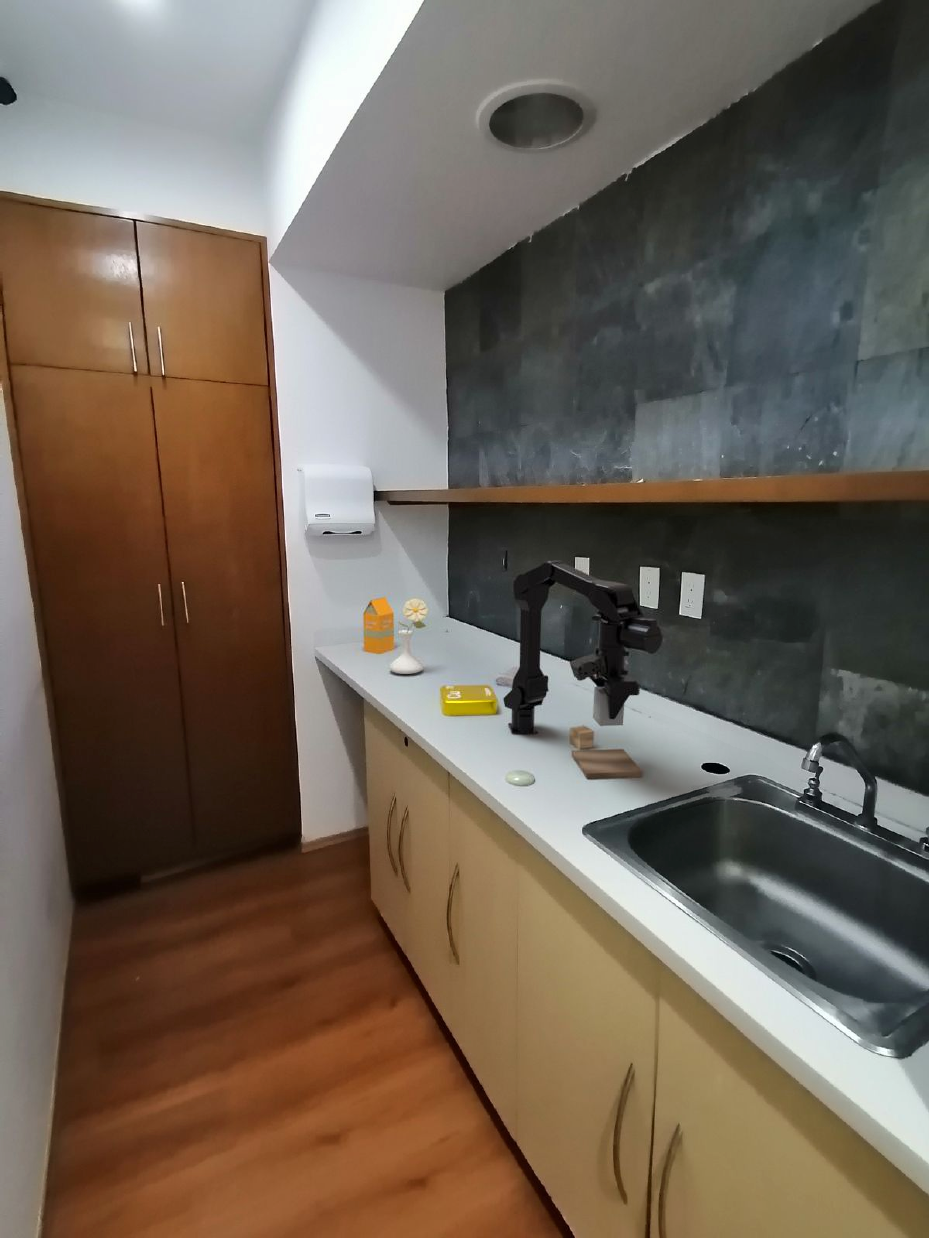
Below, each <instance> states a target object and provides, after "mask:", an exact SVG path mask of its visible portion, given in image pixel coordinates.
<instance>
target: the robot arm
mask: <svg viewBox="0 0 929 1238" xmlns="http://www.w3.org/2000/svg"><path fill="white" fill-rule="evenodd" d="M556 584H560V585H561V586H563V587H565V588H567V589H570V590H572V591H574V592H576V594H577V593H578V594H580V595H582V596H583V597H586V599H588V601H589V603H590V604H591V605H592V606H593V608H595V609H596V610H597V613H595V614H594V615H593V616H591V618H590V619H591V621H595V622H599V626H598V643H597V644H598V645H595V646H594V648H593V653H591V654H588V655H584V656H581V657H579V658H576V659H573V660H571V661H570V662H569V664H570V665H569V666H570V668H571V671H572V674H573V676H574V678H576V679H577V681H579V682H581V681H584V680H586V679H587V678H588V679H590V680H591V681H592V682H593V683H594V685H595V687H605V688H603V689H601V690H602V691H603V692H604V693H605V694H606V695H607V699H608V710H609V718H610V719H615V718H616V716H617V715H618V713H619V711H620V710H621V708H622V706H623V705H624V706H625V703H626V702H627V700H628V699H629V697H630V696H639V695H640V691H641V690H640V689H641V685H640V684H639V683H638V682H637V681H636V680H635V679H634V678H632V677H631V676H628V674H629V673H628V672H629V670H628V669H626V657H629V656H630V650H633V651H637V652H642V653H645V654H649V655H650V654H651V655H653V654H655V653H657V652H658V651H659V649H660V647H661V646H662V643H663V634H662V630H661V628H660V627H659V626H658V625H657V624H658V619H656V618H655V619H654V618H645V617H644V614H643V612H642V610H641V607H640V606H639V603H638V601H637V600H636V597H635V596H634V592H633V588H632V587H631V586H629V584H625V583H621V582H617V581H610V580H609V581H608V580H602V579H599V578H597V577H594V576H592V575H590V574H588V573H586V572H584V571H583V570H582V571H581V570H579V569H577V568H575V567H573V566H571V565H568V564H566V563H565V562H564V561H562V560H558V559H557V560H547V561H545V562H544V563H543V562H542V564H541V565H539V566H537V567H536V568H535V567H534V568H533V569H531V570H529V571H527V572H525V573H520V574H518V575H517V576H516V578H514V580H513V584H512V585H513V587H512V588H513V596H514V600H515V602H516V604H517V606H518V608H519V611H520V620H519V621H520V624H519V625H520V634H519V635H520V636H519V666H518V667H519V669H518V671H517V673H516V675H515V676H514V678H513V684H512V688H511V690H510V691H509V692H508V693H507V694H506V695H505V696H504V697H503V703H504V704H503V705H504V707H505V708H507V709H510V710H511V722H508V724H507V726H508V728H509V729H510V732H511V734H513V735H517V734H522V735H524V734H538V728H536V726H535V711H536V710H535V709H536V708H535V707H538V706H542V705H543V702H544V699H545V698H546V696H547V694H548V693H549V676H548V675H545V674H544V673H543V671H542V669H541V643H542V642H541V636H542V635H541V634H542V632H541V631H542V610H543V608H544V606H545V604H546V603H547V601H548V598H549V593H550V589H551V588H552V587H553V586H555V585H556ZM629 649H630V650H629Z"/></svg>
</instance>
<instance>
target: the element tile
mask: <svg viewBox="0 0 929 1238" xmlns="http://www.w3.org/2000/svg"><path fill="white" fill-rule="evenodd" d="M439 702H440V708H441V713H442V715H444V716H448V717H452V716H454V717H458V716H460V717H461V716H463V717H465V716H493V715H496V714H498V697H497V696H496V694H495V691H494V689H493V687H492V686H491V685H489V684H466V685H465V684H464V685H463V684H462V685H461V684H460V685H459V684H458V685H442V686H440V688H439Z"/></svg>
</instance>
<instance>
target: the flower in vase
mask: <svg viewBox="0 0 929 1238" xmlns="http://www.w3.org/2000/svg"><path fill="white" fill-rule="evenodd" d="M428 609H429V608H428V607H427V604H425V601H423V600H421V599H419V598H415V597H414V598H413V599H409V600H408V601H405V604H404V607H403V611H402V613H403V614H404V616H405V618H406V619H407V620H409V621H411V622H412V623H411V625H410V626H408V625H406V624H405V623H401V621H398V624H399V625H400V626H402V627H406V628H408V629H405V630H403V629H402V630H399V631H398V633H399V635H400V638H401V641H402V642H401V643H402V653H401V654H400V655H399V656H398V657H396V659H394V660H393V661H392V662H391V663H390V665H389V667H388V668H389V670H390V671H391V672H393V673H395V674H399V675H400V674H401V675H408V674H409V675H411V674H416V673H419V672H422V670H423V669H424V664H423V663H422V662H421V661H420V660H419V659H417V657H415V656H414V655H412V653H411V648H410V646H411V645H410V644H411V638H412V636H413V634H414V630H410V629H411V628H412V626H414V627H415V628H416V629H422V628H425V627H426V624H425V623H423V621H422V620H424V619H426V617H427V615H428V611H429V610H428Z"/></svg>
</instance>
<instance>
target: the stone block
mask: <svg viewBox="0 0 929 1238" xmlns="http://www.w3.org/2000/svg"><path fill="white" fill-rule="evenodd" d="M519 667H520V666H513V667H510V668H509V669H507V670H506V671H504V672H499V673H497V675H496V678H495V682H496V684H497V686H501V687H504V688H505V687H507V688H509V689H512V684H513V678H514V676H515V675H516V673H517V671H518V669H519Z"/></svg>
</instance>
